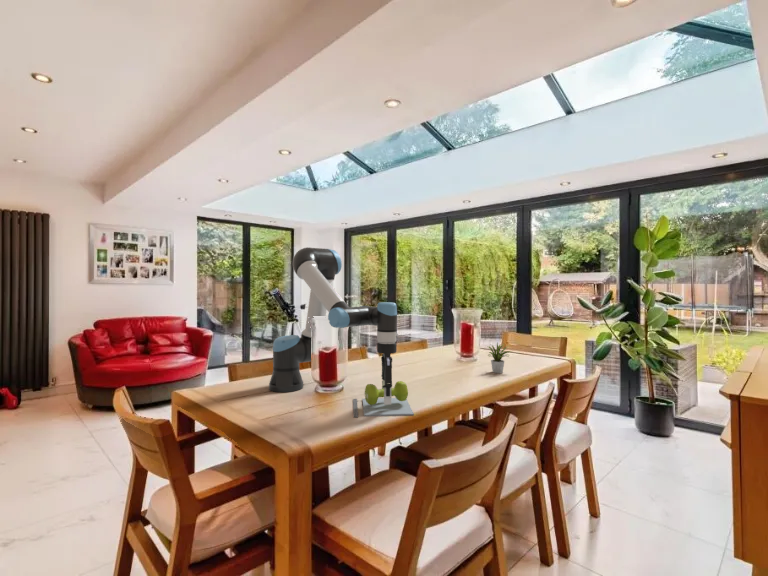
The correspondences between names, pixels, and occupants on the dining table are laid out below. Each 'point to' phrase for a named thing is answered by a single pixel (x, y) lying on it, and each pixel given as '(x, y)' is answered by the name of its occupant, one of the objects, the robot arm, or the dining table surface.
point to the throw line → (355, 408)
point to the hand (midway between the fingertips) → (386, 400)
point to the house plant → (497, 358)
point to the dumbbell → (373, 393)
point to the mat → (387, 408)
